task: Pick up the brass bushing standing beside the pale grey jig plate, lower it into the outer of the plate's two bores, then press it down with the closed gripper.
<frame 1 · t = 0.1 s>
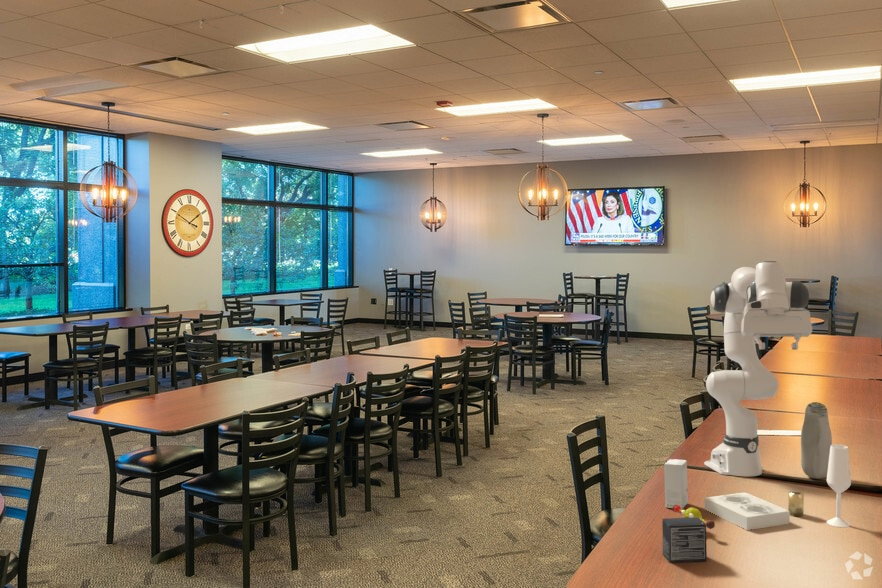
hand: (778, 349, 235), 54 cm above the table, tool tilted 30°, fingers open, 8 cm apart
bushing: (795, 514, 245), on the table
grey bottle: (815, 478, 284), on the table
skincare box: (676, 506, 256), on the table
champagne flute: (838, 524, 236), on the table
small box: (684, 558, 212), on the table
toy figure: (692, 530, 233), on the table
jig: (745, 516, 244), on the table
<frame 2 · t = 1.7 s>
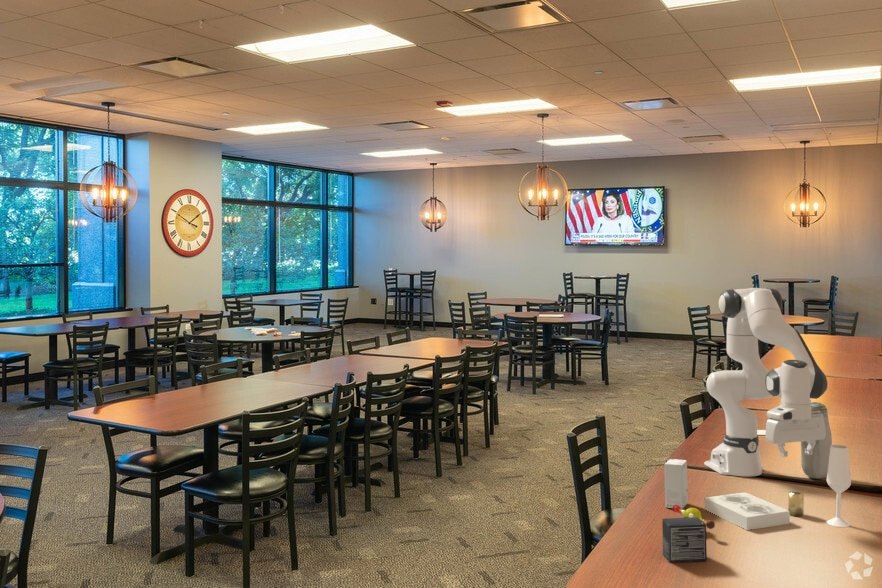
hand: (796, 455, 243), 19 cm above the table, tool pointing down, fingers open, 8 cm apart
nothing on the table moved.
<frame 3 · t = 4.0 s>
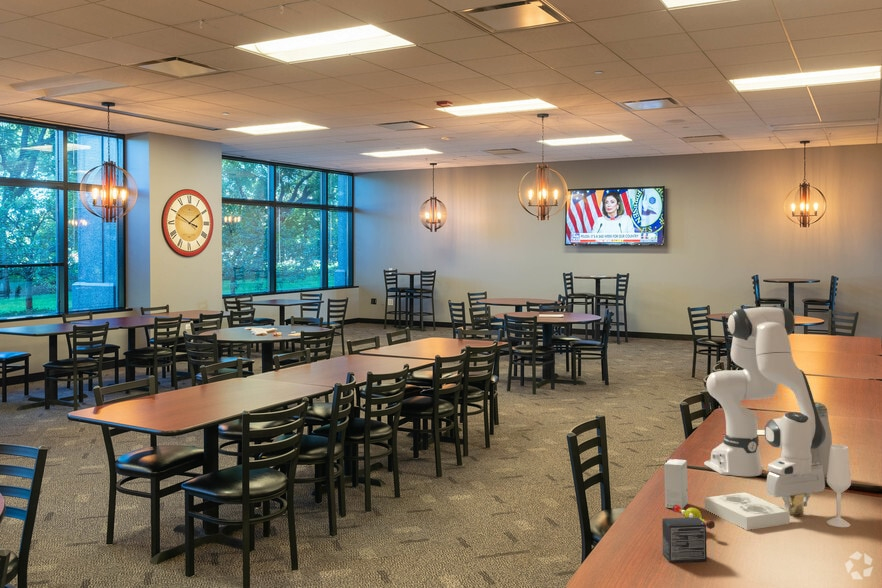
hand: (795, 507, 245), 2 cm above the table, tool pointing down, fingers closed on bushing, 4 cm apart
bushing: (795, 514, 245), on the table, touching gripper
everything else where it was.
when the fingers open (5 cm above the table, at t = 9.0 s): bushing drops 3 cm, resting in jig.
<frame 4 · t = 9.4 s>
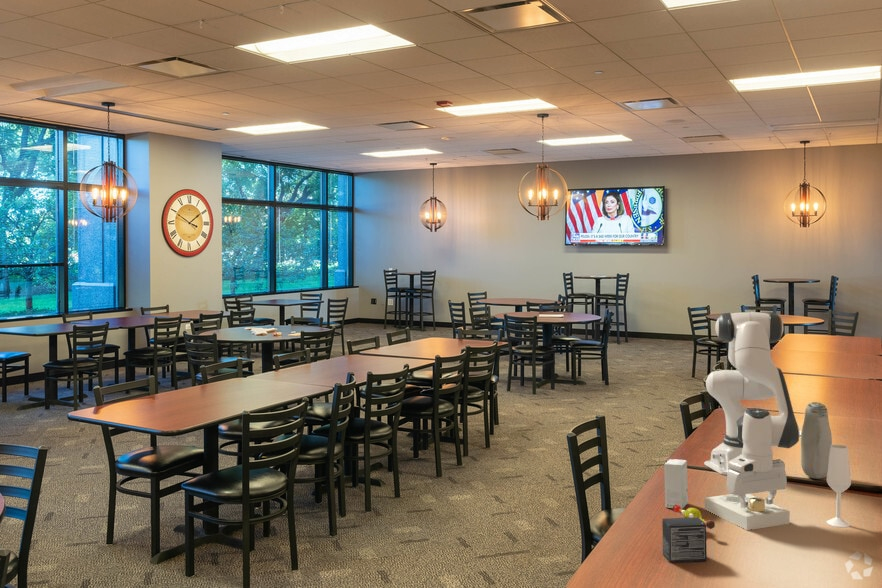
hand: (756, 505, 239), 5 cm above the table, tool pointing down, fingers open, 8 cm apart
bushing: (757, 521, 239), resting in jig
everything else where it was.
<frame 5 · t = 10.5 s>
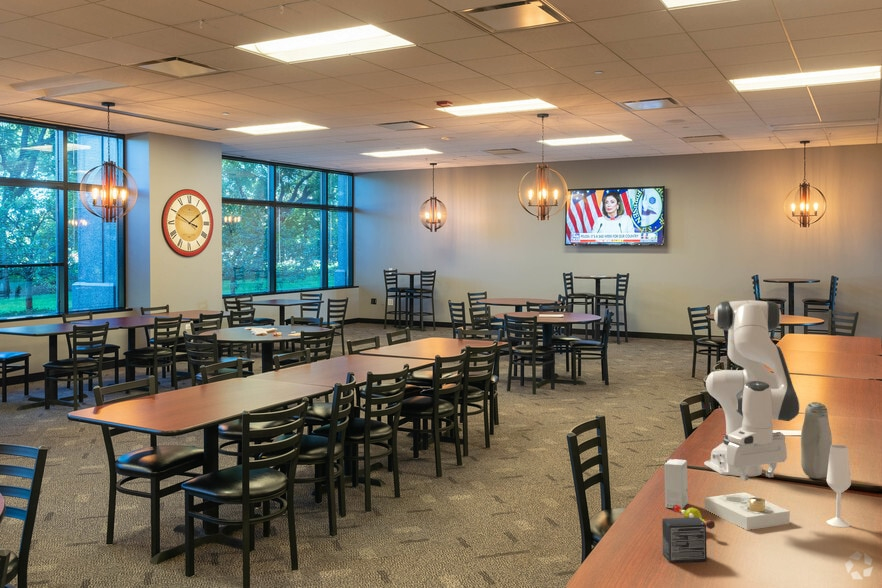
hand: (756, 478, 239), 14 cm above the table, tool pointing down, fingers open, 8 cm apart
nothing on the table moved.
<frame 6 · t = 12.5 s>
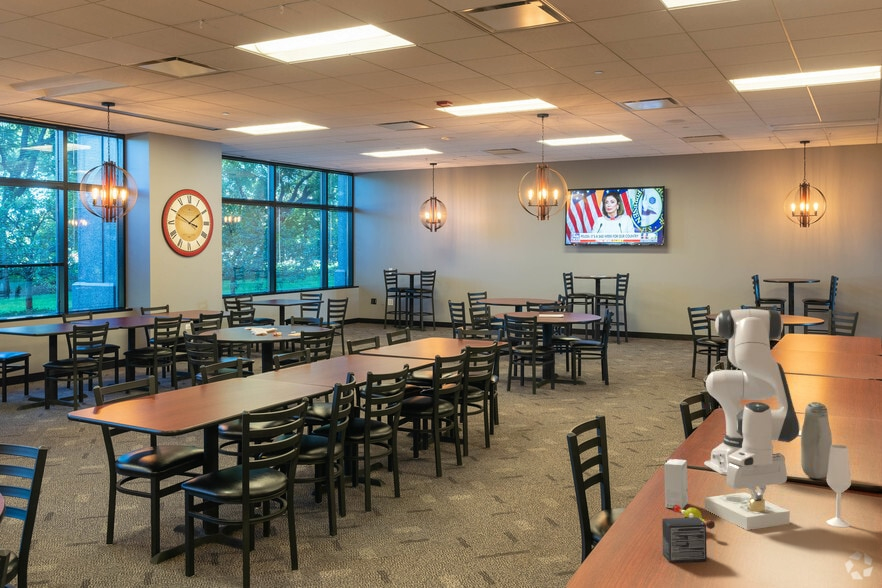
hand: (757, 499, 239), 7 cm above the table, tool pointing down, fingers closed, pressing on bushing
bushing: (757, 521, 239), resting in jig, touching gripper
everything else where it was.
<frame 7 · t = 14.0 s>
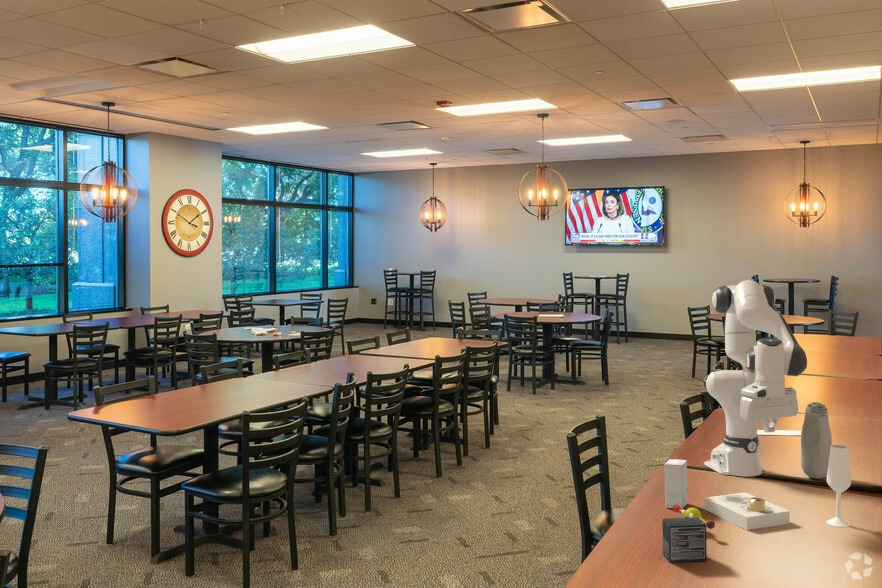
hand: (769, 431, 247), 26 cm above the table, tool pointing down, fingers closed
bushing: (757, 521, 239), resting in jig
everything else where it was.
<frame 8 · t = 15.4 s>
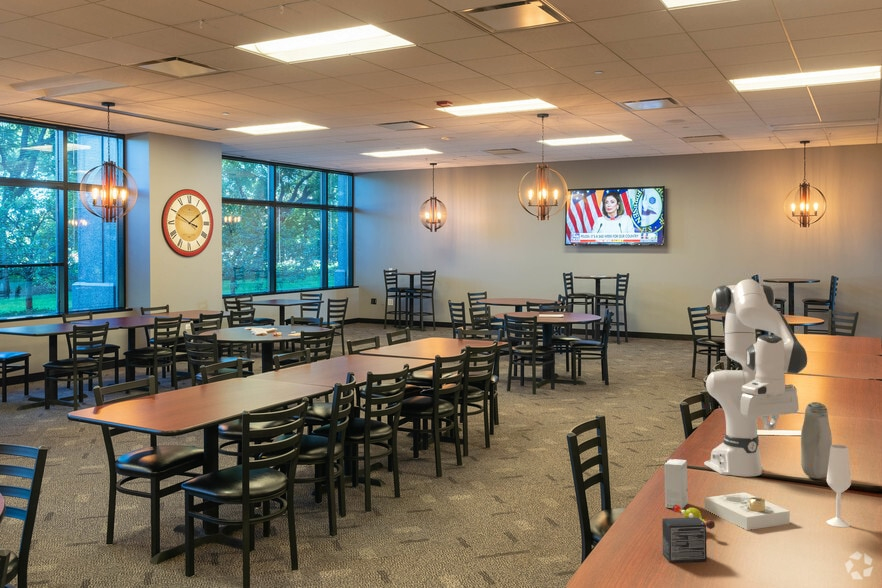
hand: (769, 428, 246), 27 cm above the table, tool pointing down, fingers closed
nothing on the table moved.
at the end: bushing 0.1 cm from the target spot on the jig, point 0.0 cm above the jig's base; bushing tilted 0°; the gripper is holding nothing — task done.
